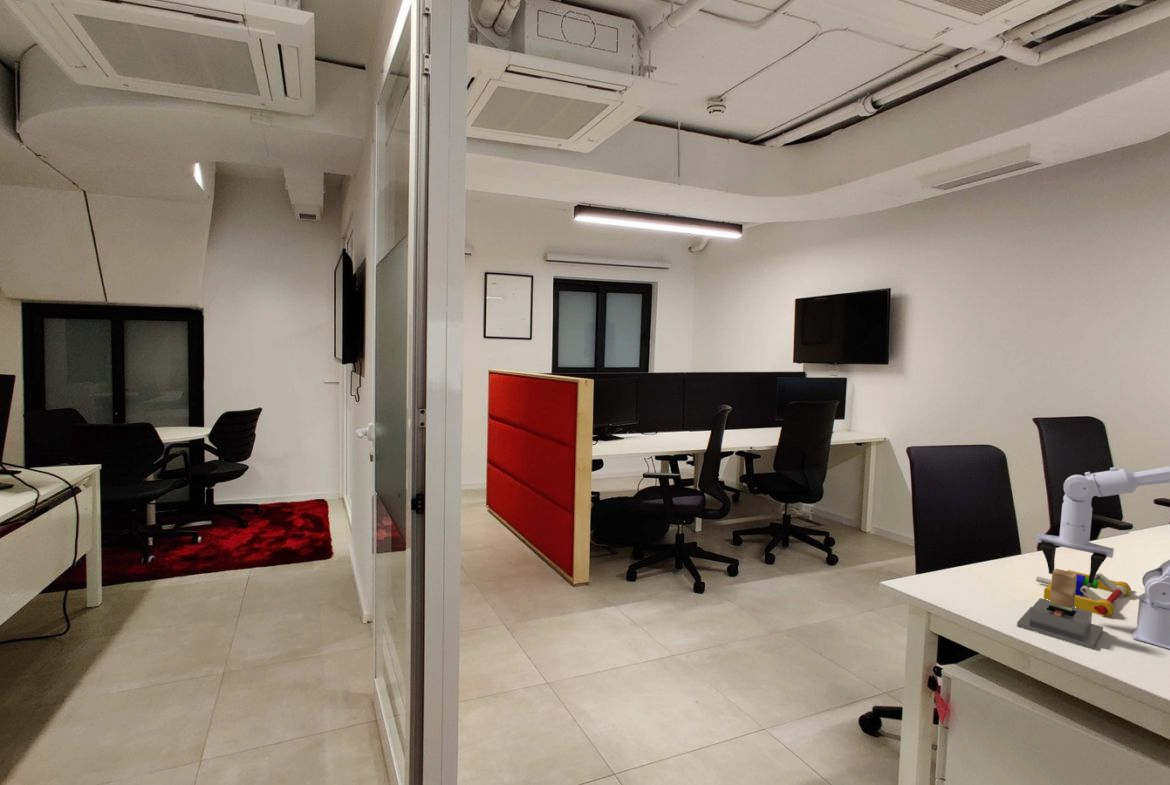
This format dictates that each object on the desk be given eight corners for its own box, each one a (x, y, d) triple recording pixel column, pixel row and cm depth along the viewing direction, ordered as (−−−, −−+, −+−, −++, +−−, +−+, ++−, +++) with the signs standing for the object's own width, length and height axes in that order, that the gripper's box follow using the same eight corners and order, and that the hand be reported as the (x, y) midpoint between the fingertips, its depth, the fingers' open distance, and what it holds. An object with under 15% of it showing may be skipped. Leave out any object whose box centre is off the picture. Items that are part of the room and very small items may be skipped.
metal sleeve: (1102, 631, 139) (1104, 610, 139) (1093, 649, 130) (1095, 627, 130) (1030, 610, 150) (1032, 591, 150) (1016, 626, 141) (1018, 605, 140)
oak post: (1074, 606, 139) (1077, 573, 139) (1071, 611, 137) (1074, 577, 136) (1052, 600, 143) (1055, 568, 142) (1048, 604, 140) (1051, 572, 139)
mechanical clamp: (1135, 571, 165) (1112, 596, 146) (1133, 593, 165) (1110, 621, 146) (1054, 553, 179) (1023, 573, 160) (1052, 573, 179) (1021, 596, 161)
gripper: (1117, 528, 142) (1112, 582, 143) (1042, 514, 152) (1038, 565, 153) (1113, 533, 137) (1107, 589, 138) (1036, 519, 148) (1031, 571, 149)
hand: (1070, 577), depth 145 cm, fingers open, 7 cm apart
